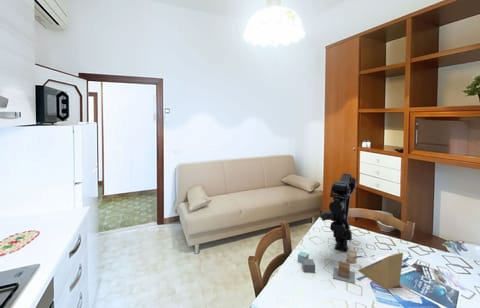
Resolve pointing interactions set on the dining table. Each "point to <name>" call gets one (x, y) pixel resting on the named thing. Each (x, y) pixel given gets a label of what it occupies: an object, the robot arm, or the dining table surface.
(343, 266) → the walnut block
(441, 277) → the dining table surface
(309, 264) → the charcoal block
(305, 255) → the teal block
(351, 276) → the felt pad
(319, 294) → the dining table surface
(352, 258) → the beech cylinder
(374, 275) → the sandwich container
